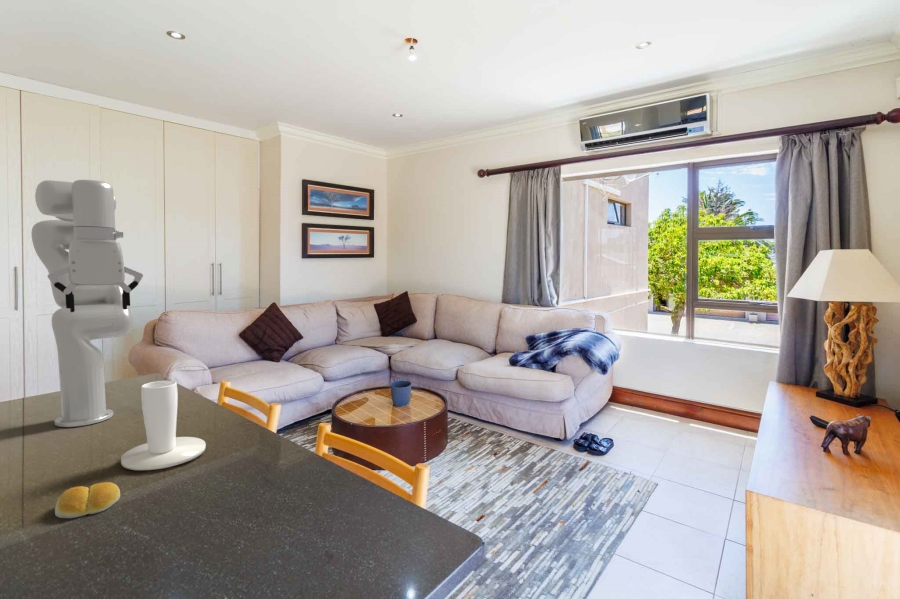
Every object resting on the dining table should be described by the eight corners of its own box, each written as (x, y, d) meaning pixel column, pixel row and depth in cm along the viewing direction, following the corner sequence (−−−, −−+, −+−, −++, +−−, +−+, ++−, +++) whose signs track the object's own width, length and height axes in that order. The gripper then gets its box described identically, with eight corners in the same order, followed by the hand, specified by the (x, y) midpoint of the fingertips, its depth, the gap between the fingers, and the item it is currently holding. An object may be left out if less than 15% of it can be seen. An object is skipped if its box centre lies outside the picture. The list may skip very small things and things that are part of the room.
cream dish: (119, 454, 103) (118, 447, 103) (198, 437, 113) (198, 431, 113) (123, 480, 91) (123, 473, 90) (212, 459, 101) (212, 452, 100)
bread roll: (119, 509, 80) (118, 487, 80) (52, 525, 75) (51, 502, 75) (121, 490, 87) (120, 470, 87) (60, 503, 82) (59, 482, 82)
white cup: (163, 457, 98) (160, 389, 97) (136, 454, 99) (132, 387, 98) (186, 445, 104) (184, 381, 103) (161, 443, 106) (158, 379, 105)
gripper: (139, 238, 113) (142, 307, 114) (46, 235, 102) (50, 311, 103) (142, 236, 107) (145, 309, 108) (43, 233, 96) (48, 314, 97)
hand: (99, 310), depth 106 cm, fingers open, 9 cm apart
